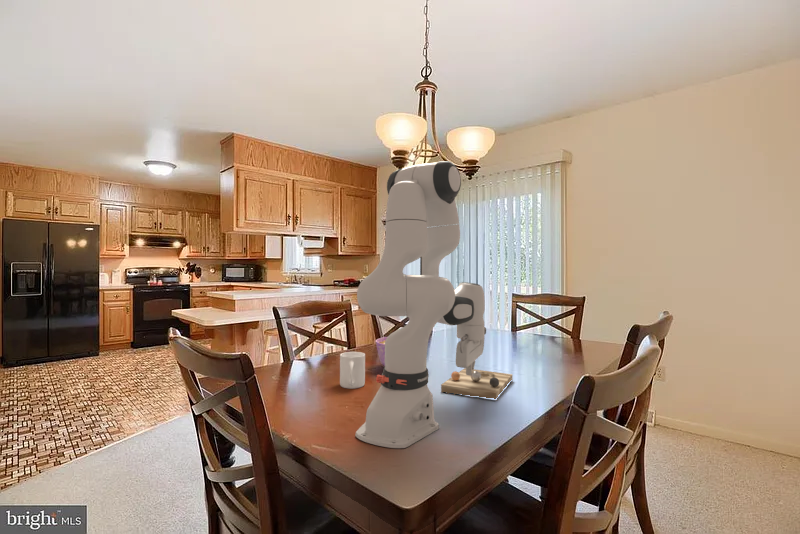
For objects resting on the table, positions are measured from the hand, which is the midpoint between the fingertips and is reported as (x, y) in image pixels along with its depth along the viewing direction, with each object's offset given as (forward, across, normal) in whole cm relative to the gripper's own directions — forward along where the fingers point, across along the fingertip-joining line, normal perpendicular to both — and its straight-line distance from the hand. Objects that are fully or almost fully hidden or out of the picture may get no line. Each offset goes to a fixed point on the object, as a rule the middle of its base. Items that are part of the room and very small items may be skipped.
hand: (469, 374), depth 129 cm
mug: (+7, -12, +38) cm, 40 cm away
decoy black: (+2, +2, -8) cm, 8 cm away
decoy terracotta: (+2, +4, +6) cm, 7 cm away
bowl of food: (+8, +16, +33) cm, 38 cm away
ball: (+2, +5, -1) cm, 6 cm away
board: (+6, +8, -1) cm, 11 cm away
